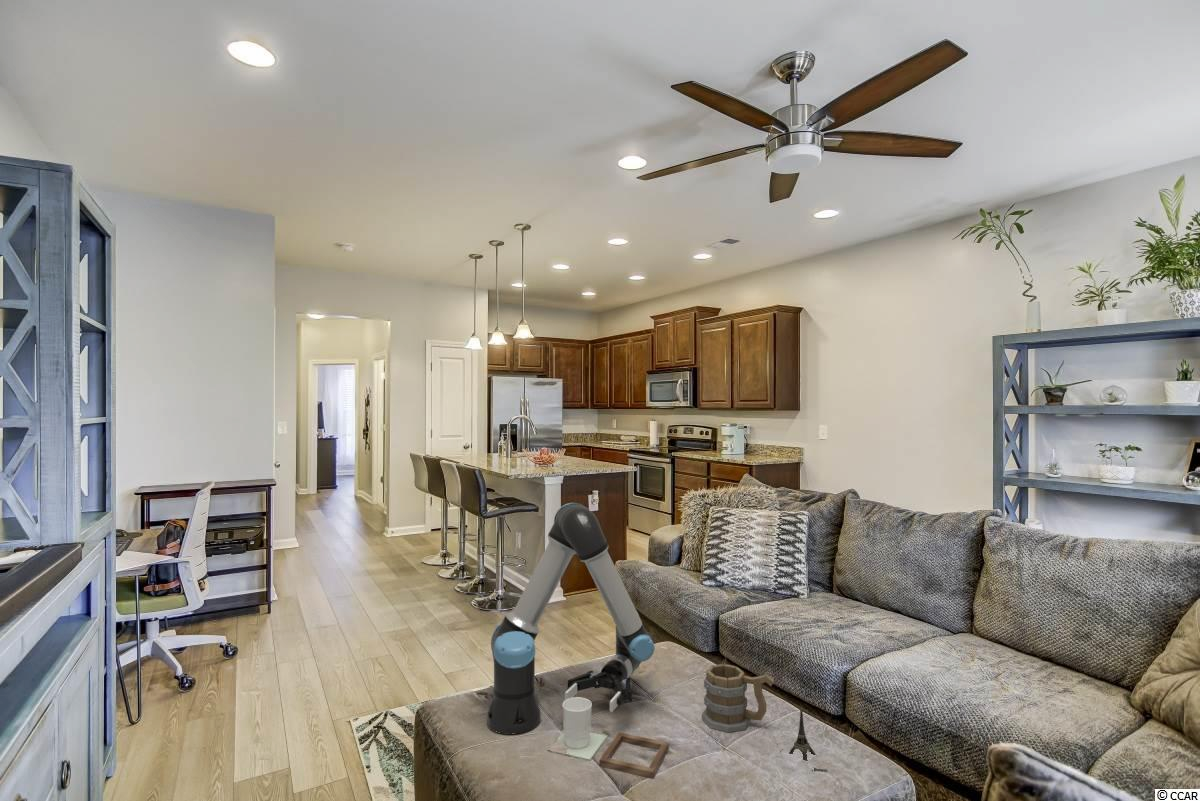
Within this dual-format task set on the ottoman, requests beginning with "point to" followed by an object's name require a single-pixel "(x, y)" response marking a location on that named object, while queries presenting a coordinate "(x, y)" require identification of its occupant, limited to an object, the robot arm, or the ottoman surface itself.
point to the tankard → (731, 698)
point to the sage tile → (590, 749)
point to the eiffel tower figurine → (803, 742)
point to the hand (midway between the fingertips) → (588, 702)
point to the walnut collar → (629, 767)
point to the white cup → (577, 722)
